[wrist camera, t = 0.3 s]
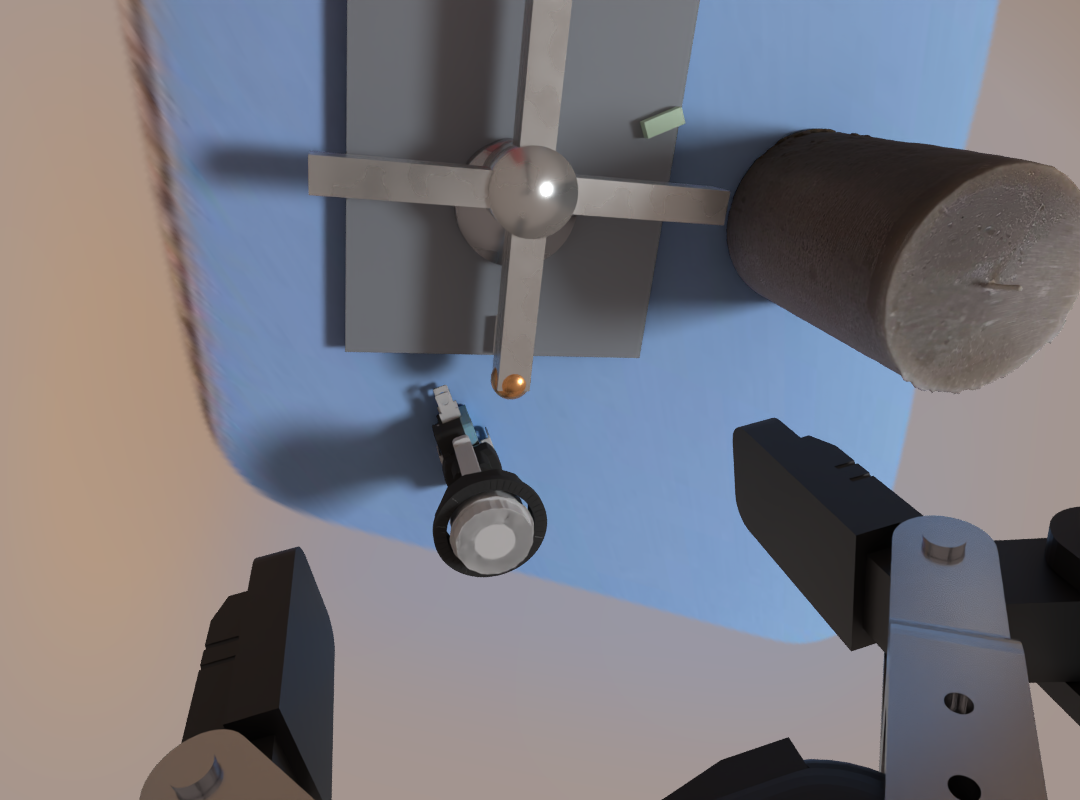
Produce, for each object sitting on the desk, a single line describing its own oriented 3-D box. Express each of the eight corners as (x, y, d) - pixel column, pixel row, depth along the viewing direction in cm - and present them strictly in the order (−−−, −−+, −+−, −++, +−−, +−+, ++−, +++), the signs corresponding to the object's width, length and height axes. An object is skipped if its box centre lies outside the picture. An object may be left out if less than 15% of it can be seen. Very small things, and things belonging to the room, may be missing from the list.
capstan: (309, -80, 30) (304, -101, 26) (731, -10, 35) (775, -19, 31) (314, 373, 37) (311, 405, 34) (660, 378, 42) (689, 406, 39)
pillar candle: (777, 99, 38) (1001, 120, 25) (912, 168, 42) (1173, 218, 28) (695, 272, 41) (857, 373, 28) (828, 323, 45) (1028, 434, 31)
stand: (347, -56, 31) (347, -62, 30) (692, -1, 35) (707, -4, 34) (345, 345, 38) (345, 355, 37) (634, 352, 42) (644, 361, 41)
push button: (393, 399, 40) (407, 493, 31) (485, 365, 40) (524, 448, 32) (435, 496, 43) (459, 606, 34) (520, 463, 43) (565, 563, 35)
